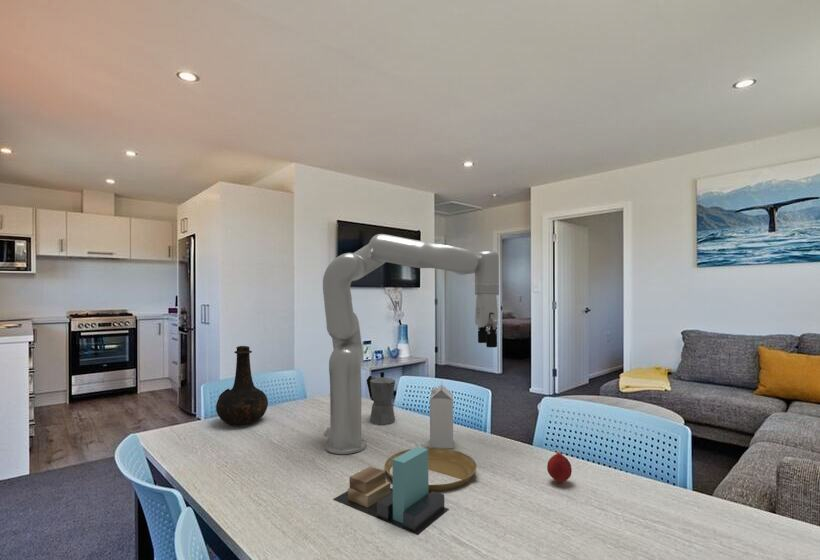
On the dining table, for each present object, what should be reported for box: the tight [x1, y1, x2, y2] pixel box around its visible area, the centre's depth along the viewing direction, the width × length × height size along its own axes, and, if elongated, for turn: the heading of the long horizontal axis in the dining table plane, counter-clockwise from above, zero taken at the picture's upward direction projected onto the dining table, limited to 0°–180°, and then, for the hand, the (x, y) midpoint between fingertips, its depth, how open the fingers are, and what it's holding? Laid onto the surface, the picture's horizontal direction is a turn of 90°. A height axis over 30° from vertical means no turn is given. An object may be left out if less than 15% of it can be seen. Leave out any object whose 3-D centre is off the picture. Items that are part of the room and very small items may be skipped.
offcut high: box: [349, 466, 387, 494], centre depth 100 cm, size 5×7×2 cm
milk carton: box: [429, 381, 454, 449], centre depth 135 cm, size 7×7×19 cm
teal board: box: [391, 446, 430, 523], centre depth 93 cm, size 3×9×12 cm, turn 144°
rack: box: [332, 487, 450, 536], centre depth 96 cm, size 24×12×4 cm, turn 54°
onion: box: [546, 450, 573, 484], centre depth 108 cm, size 6×6×8 cm
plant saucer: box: [384, 446, 478, 492], centre depth 113 cm, size 24×24×3 cm
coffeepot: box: [366, 371, 396, 426], centre depth 159 cm, size 15×9×18 cm, turn 44°
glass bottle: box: [215, 345, 269, 427], centre depth 157 cm, size 18×18×28 cm
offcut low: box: [347, 480, 391, 507], centre depth 100 cm, size 6×8×2 cm
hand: (487, 344), depth 135 cm, fingers open, 9 cm apart
